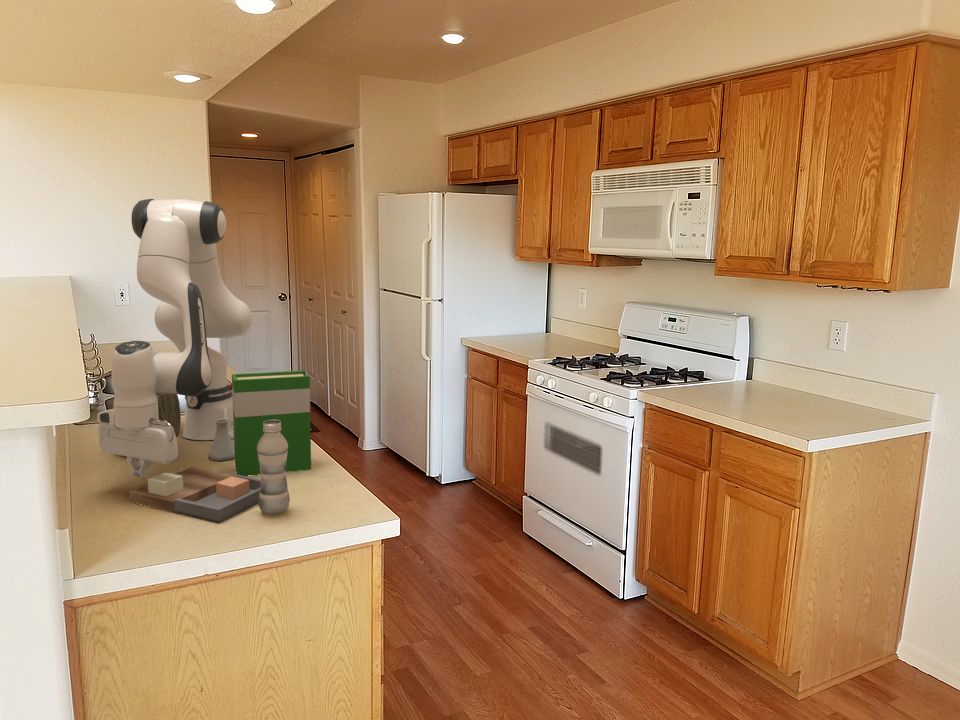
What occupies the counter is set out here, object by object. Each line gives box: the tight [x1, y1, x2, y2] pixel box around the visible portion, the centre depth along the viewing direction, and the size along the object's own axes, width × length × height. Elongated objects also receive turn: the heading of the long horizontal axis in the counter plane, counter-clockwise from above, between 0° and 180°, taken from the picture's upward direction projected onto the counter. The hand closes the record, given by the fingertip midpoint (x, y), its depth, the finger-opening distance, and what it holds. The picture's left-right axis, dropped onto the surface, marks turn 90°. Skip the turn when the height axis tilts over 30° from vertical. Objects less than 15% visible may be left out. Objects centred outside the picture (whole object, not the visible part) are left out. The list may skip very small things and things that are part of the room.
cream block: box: [147, 472, 183, 496], centre depth 161 cm, size 5×5×3 cm
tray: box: [174, 473, 261, 525], centre depth 161 cm, size 18×12×3 cm, turn 157°
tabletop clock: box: [111, 393, 182, 438], centre depth 189 cm, size 14×9×25 cm, turn 75°
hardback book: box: [231, 370, 312, 477], centre depth 182 cm, size 18×7×24 cm, turn 112°
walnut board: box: [129, 466, 232, 514], centre depth 166 cm, size 18×13×2 cm
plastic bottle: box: [257, 420, 291, 515], centre depth 155 cm, size 6×7×20 cm
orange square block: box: [216, 476, 250, 500], centre depth 165 cm, size 5×5×3 cm
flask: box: [207, 419, 235, 462], centre depth 191 cm, size 7×7×10 cm
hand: (140, 476), depth 163 cm, fingers closed
